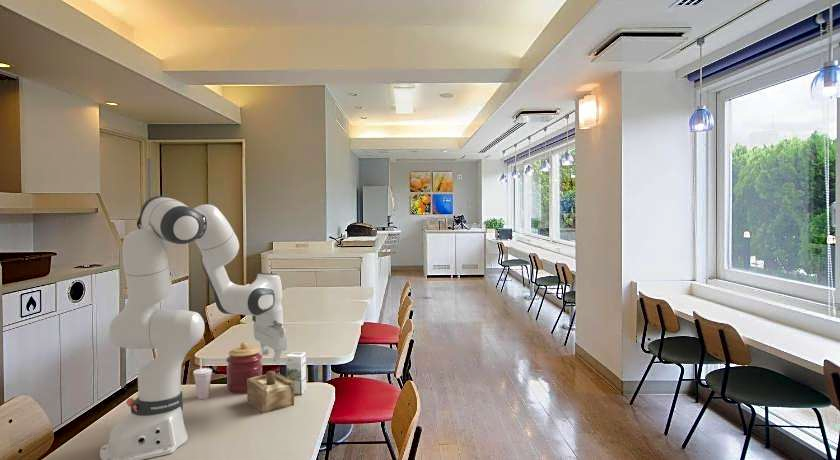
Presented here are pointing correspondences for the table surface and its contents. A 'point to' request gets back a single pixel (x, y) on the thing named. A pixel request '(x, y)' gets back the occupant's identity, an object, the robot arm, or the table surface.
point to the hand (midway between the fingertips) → (271, 357)
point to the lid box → (270, 401)
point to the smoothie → (202, 381)
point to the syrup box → (297, 371)
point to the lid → (273, 383)
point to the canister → (242, 367)
